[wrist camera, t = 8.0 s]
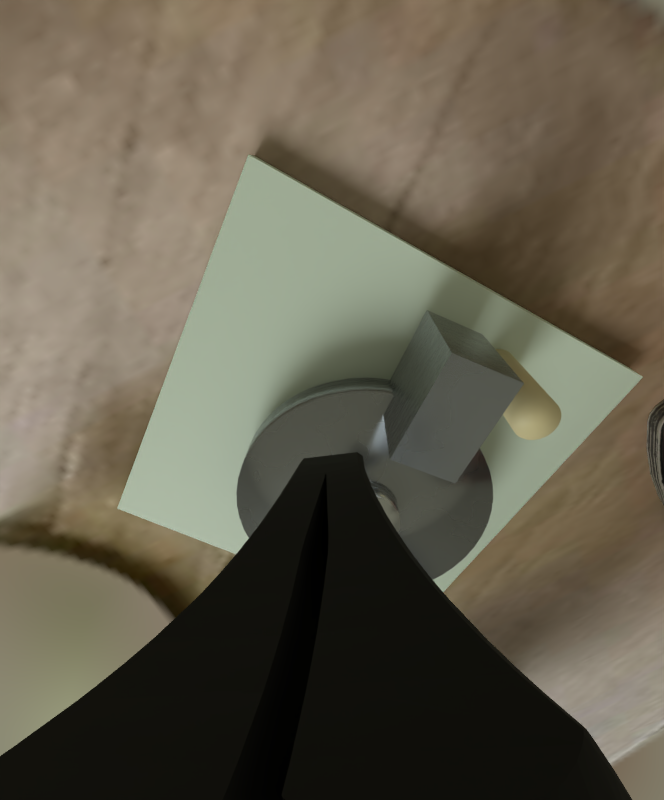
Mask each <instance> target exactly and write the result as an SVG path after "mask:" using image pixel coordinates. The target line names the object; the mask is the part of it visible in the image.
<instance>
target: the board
mask: <svg viewBox="0 0 664 800" xmlns="http://www.w3.org/2000/svg"><path fill="white" fill-rule="evenodd" d="M427 310H428V311H430V312H433V313H435V314H437V315H439V316H442V317H444V318H446V319H449V320H451V321H453V322H456V323H458V324H460V325H462V326H465V327H467V328H469V329H472V330H474V331H476V332H479V333H481V334H483V335H484V337H485V338H486V339H487V340H488V341H489V343H490V344H491V345H492V346H493V347H494V348H495V350H496V351H497V352H498V353H499V354H500V356H501V357H502V358H503V359H504V360H505V361H506V363H507V364H508V365H509V366H510V367H511V369H512V370H513V371H514V372H515V373H516V374H517V376H518V377H519V378H520V379H521V380H522V381H523V383H524V384H523V386H522V387H521V389H520V390H519V392H518V393H517V395H516V396H515V397H514V399H513V400H512V402H511V403H510V405H509V406H508V408H507V409H506V411H505V412H504V413H503V415H502V416H501V418H500V419H499V421H498V422H497V424H496V425H495V427H494V428H493V429H492V431H491V432H490V434H489V435H488V437H487V438H486V440H485V441H484V443H483V444H482V445H481V447H480V449H481V451H482V453H483V455H484V457H485V460H486V462H487V465H488V467H489V470H490V474H491V479H492V483H493V503H492V511H491V514H490V518H489V521H488V524H487V526H486V528H485V530H484V532H483V535H482V536H481V538H480V539H479V541H478V542H477V544H476V545H475V547H474V548H473V549H472V550H471V551H470V552H469V554H468V555H467V556H466V557H465V558H464V559H463V560H461V561H460V562H459V563H458V564H457V565H456V566H455V567H453V568H452V569H450V570H449V571H447V572H446V573H444V574H443V575H441V576H439V577H437V578H435V579H434V580H433V581H434V582H435V583H436V585H437V586H438V587H439V588H440V589H441V590H442V592H444V591H445V590H446V589H447V587H448V586H449V585H450V584H451V583H452V582H453V581H454V580H455V579H456V578H457V577H458V576H459V575H460V573H461V572H462V571H463V570H464V569H465V568H466V567H467V566H468V565H469V564H470V563H471V562H472V561H473V559H474V558H475V557H476V556H477V555H478V554H479V553H480V552H481V551H482V550H483V549H484V548H485V547H486V545H487V544H488V543H489V542H490V541H491V540H492V539H493V538H494V537H495V536H496V535H497V534H498V533H499V531H500V530H501V529H502V528H503V527H504V526H505V525H506V524H507V523H508V522H509V521H510V520H511V519H512V517H513V516H514V515H515V514H516V513H517V512H518V511H519V510H520V509H521V508H522V507H523V506H524V505H525V503H526V502H527V501H528V500H529V499H530V498H531V497H532V496H533V495H534V494H535V493H536V492H537V491H538V490H539V488H540V487H541V486H542V485H543V484H544V483H545V482H546V481H547V480H548V479H549V478H550V477H551V476H552V474H553V473H554V472H555V471H556V470H557V469H558V468H559V467H560V466H561V465H562V464H563V463H564V462H565V460H566V459H567V458H568V457H569V456H570V455H571V454H572V453H573V452H574V451H575V450H576V449H577V448H578V446H579V445H580V444H581V443H582V442H583V441H584V440H585V439H586V438H587V437H588V436H589V435H590V434H591V432H592V431H593V430H594V429H595V428H596V427H597V426H598V425H599V424H600V423H601V422H602V421H603V420H604V418H605V417H606V416H607V415H608V414H609V413H610V412H611V411H612V410H613V409H614V408H615V407H616V406H617V404H618V403H619V402H620V401H621V400H622V399H623V398H624V397H625V396H626V395H627V394H628V393H629V392H630V391H631V389H632V388H633V387H634V386H635V385H636V384H637V383H638V382H639V381H640V380H641V379H642V378H643V377H642V376H641V375H639V374H638V373H636V372H635V371H633V370H632V369H631V368H629V367H627V366H625V365H624V364H622V363H620V362H618V361H617V360H615V359H613V358H611V357H610V356H608V355H606V354H604V353H602V352H601V351H599V350H597V349H595V348H594V347H592V346H590V345H588V344H587V343H585V342H583V341H581V340H579V339H578V338H576V337H574V336H572V335H571V334H569V333H567V332H565V331H564V330H562V329H560V328H558V327H556V326H555V325H553V324H551V323H549V322H548V321H546V320H544V319H542V318H541V317H539V316H537V315H535V314H533V313H532V312H530V311H528V310H526V309H525V308H523V307H521V306H519V305H518V304H516V303H514V302H512V301H510V300H509V299H507V298H505V297H503V296H502V295H500V294H498V293H496V292H495V291H493V290H491V289H489V288H487V287H486V286H484V285H482V284H480V283H479V282H477V281H475V280H473V279H472V278H470V277H468V276H466V275H464V274H463V273H461V272H459V271H457V270H456V269H454V268H452V267H450V266H449V265H447V264H445V263H443V262H441V261H440V260H438V259H436V258H434V257H433V256H431V255H429V254H427V253H425V252H424V251H422V250H420V249H418V248H417V247H415V246H413V245H411V244H410V243H408V242H406V241H404V240H402V239H401V238H399V237H397V236H395V235H394V234H392V233H390V232H388V231H387V230H385V229H383V228H381V227H379V226H378V225H376V224H374V223H372V222H371V221H369V220H367V219H365V218H364V217H362V216H360V215H358V214H356V213H355V212H353V211H351V210H349V209H348V208H346V207H344V206H342V205H341V204H339V203H337V202H335V201H333V200H332V199H330V198H328V197H326V196H325V195H323V194H321V193H319V192H318V191H316V190H314V189H312V188H310V187H309V186H307V185H305V184H303V183H302V182H300V181H298V180H296V179H295V178H293V177H291V176H289V175H287V174H286V173H284V172H282V171H280V170H279V169H277V168H275V167H273V166H272V165H270V164H268V163H266V162H264V161H263V160H261V159H259V158H257V157H256V156H254V155H248V157H247V160H246V163H245V165H244V168H243V171H242V173H241V176H240V179H239V182H238V184H237V187H236V190H235V192H234V195H233V198H232V200H231V203H230V206H229V209H228V211H227V214H226V217H225V219H224V222H223V225H222V227H221V230H220V233H219V236H218V238H217V241H216V244H215V246H214V249H213V252H212V254H211V257H210V260H209V263H208V265H207V268H206V271H205V273H204V276H203V279H202V281H201V284H200V287H199V290H198V292H197V295H196V298H195V300H194V303H193V306H192V308H191V311H190V314H189V316H188V319H187V322H186V325H185V327H184V330H183V333H182V335H181V338H180V341H179V343H178V346H177V349H176V352H175V354H174V357H173V360H172V362H171V365H170V368H169V370H168V373H167V376H166V379H165V381H164V384H163V387H162V389H161V392H160V395H159V397H158V400H157V403H156V406H155V408H154V411H153V414H152V416H151V419H150V422H149V424H148V427H147V430H146V433H145V435H144V438H143V441H142V443H141V446H140V449H139V451H138V454H137V457H136V459H135V462H134V465H133V468H132V470H131V473H130V476H129V478H128V481H127V484H126V486H125V489H124V492H123V495H122V497H121V500H120V503H119V505H118V508H117V509H120V510H122V511H125V512H128V513H130V514H133V515H135V516H138V517H141V518H143V519H146V520H148V521H151V522H154V523H156V524H159V525H161V526H164V527H167V528H169V529H172V530H174V531H177V532H180V533H182V534H185V535H187V536H190V537H193V538H195V539H198V540H200V541H203V542H206V543H208V544H211V545H213V546H216V547H219V548H221V549H224V550H227V551H229V552H232V553H234V554H237V553H238V551H239V550H240V549H241V547H242V546H243V545H244V544H245V542H246V541H247V540H248V539H249V538H248V536H247V534H246V532H245V531H244V528H243V526H242V523H241V520H240V518H239V513H238V508H237V495H236V491H237V483H238V477H239V474H240V470H241V467H242V464H243V461H244V459H245V456H246V453H247V450H248V448H249V445H250V443H251V441H252V439H253V437H254V435H255V433H256V432H257V430H258V429H259V427H260V426H261V424H262V423H263V421H264V420H265V419H266V418H267V417H268V416H269V415H270V414H271V413H272V412H273V411H274V410H275V409H276V408H278V407H279V406H280V405H281V404H283V403H284V402H285V401H287V400H288V399H290V398H292V397H293V396H295V395H297V394H298V393H300V392H302V391H305V390H307V389H309V388H312V387H314V386H317V385H320V384H324V383H327V382H330V381H335V380H342V379H348V378H366V377H367V378H380V379H388V380H390V379H391V377H392V375H393V373H394V371H395V369H396V367H397V365H398V364H399V362H400V360H401V358H402V356H403V354H404V352H405V350H406V348H407V347H408V345H409V343H410V341H411V339H412V337H413V335H414V333H415V331H416V329H417V328H418V326H419V324H420V322H421V320H422V318H423V316H424V314H425V312H426V311H427Z"/></svg>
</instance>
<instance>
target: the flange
mask: <svg viewBox="0 0 664 800" xmlns="http://www.w3.org/2000/svg"><path fill="white" fill-rule="evenodd" d="M523 384H524V383H523V381H522V380H521V379H520V378H519V377H518V376H517V374H516V373H515V372H514V371H513V370H512V369H511V367H510V366H509V365H508V364H507V363H506V361H505V360H504V359H503V358H502V357H501V356H500V354H499V353H498V352H497V351H496V350H495V348H494V347H493V346H492V345H491V344H490V343H489V341H488V340H487V339H486V338H485V337H484V335H483V334H481V333H479V332H476V331H474V330H472V329H469V328H467V327H465V326H462V325H460V324H458V323H456V322H453V321H451V320H449V319H446V318H444V317H442V316H439V315H437V314H435V313H433V312H430V311H428V310H427V311H426V312H425V314H424V316H423V318H422V320H421V322H420V324H419V326H418V328H417V329H416V331H415V333H414V335H413V337H412V339H411V341H410V343H409V345H408V347H407V348H406V350H405V352H404V354H403V356H402V358H401V360H400V362H399V364H398V365H397V367H396V369H395V371H394V373H393V375H392V377H391V379H390V380H388V379H380V378H367V377H366V378H348V379H342V380H335V381H330V382H327V383H324V384H320V385H317V386H314V387H312V388H309V389H307V390H305V391H302V392H300V393H298V394H297V395H295V396H293V397H292V398H290V399H288V400H287V401H285V402H284V403H283V404H281V405H280V406H279V407H278V408H276V409H275V410H274V411H273V412H272V413H271V414H270V415H269V416H268V417H267V418H266V419H265V420H264V421H263V423H262V424H261V426H260V427H259V429H258V430H257V432H256V433H255V435H254V437H253V439H252V441H251V443H250V445H249V448H248V450H247V453H246V456H245V459H244V461H243V464H242V467H241V470H240V474H239V477H238V483H237V491H236V495H237V508H238V513H239V518H240V520H241V523H242V526H243V528H244V531H245V532H246V534H247V536H248V538H249V537H250V536H251V535H252V533H253V532H254V531H255V530H256V528H257V527H258V526H259V524H260V523H261V521H262V520H263V519H264V517H265V516H266V514H267V513H268V511H269V510H270V509H271V507H272V506H273V504H274V503H275V501H276V500H277V498H278V497H279V495H280V494H281V492H282V491H283V489H284V488H285V486H286V485H287V483H288V481H289V480H290V478H291V477H292V475H293V473H294V472H295V470H296V469H297V467H298V465H299V464H300V462H301V461H302V460H303V459H304V458H311V457H319V456H328V455H336V454H345V453H353V452H358V453H359V454H361V455H362V456H363V460H364V466H365V470H366V473H367V476H368V479H369V481H370V483H371V486H372V488H373V490H374V492H375V494H376V496H377V498H378V500H379V502H380V503H381V505H382V507H383V509H384V511H385V513H386V515H387V516H388V518H389V519H390V521H391V523H392V524H393V526H394V528H395V529H396V531H397V532H398V534H399V535H400V537H401V538H402V540H403V541H404V543H405V544H406V546H407V547H408V548H409V550H410V551H411V553H412V554H413V555H414V557H415V558H416V559H417V561H418V562H419V563H420V565H421V566H422V567H423V568H424V570H425V571H426V572H427V574H428V575H429V576H430V577H431V579H432V580H434V579H435V578H437V577H439V576H441V575H443V574H444V573H446V572H447V571H449V570H450V569H452V568H453V567H455V566H456V565H457V564H458V563H459V562H460V561H461V560H463V559H464V558H465V557H466V556H467V555H468V554H469V552H470V551H471V550H472V549H473V548H474V547H475V545H476V544H477V542H478V541H479V539H480V538H481V536H482V535H483V532H484V530H485V528H486V526H487V524H488V521H489V518H490V514H491V511H492V503H493V483H492V479H491V474H490V470H489V467H488V465H487V462H486V460H485V457H484V455H483V453H482V451H481V449H480V447H481V445H482V444H483V443H484V441H485V440H486V438H487V437H488V435H489V434H490V432H491V431H492V429H493V428H494V427H495V425H496V424H497V422H498V421H499V419H500V418H501V416H502V415H503V413H504V412H505V411H506V409H507V408H508V406H509V405H510V403H511V402H512V400H513V399H514V397H515V396H516V395H517V393H518V392H519V390H520V389H521V387H522V386H523Z"/></svg>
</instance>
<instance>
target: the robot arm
mask: <svg viewBox="0 0 664 800" xmlns="http://www.w3.org/2000/svg"><path fill="white" fill-rule="evenodd" d="M0 800H632V799H631V797H630V795H629V794H628V792H627V790H626V789H625V787H624V785H623V784H622V782H621V781H620V779H619V777H618V776H617V774H616V773H615V771H614V769H613V768H612V766H611V765H610V763H609V762H608V760H607V759H606V757H605V756H604V754H603V753H602V751H601V750H600V748H599V747H598V745H597V744H596V742H595V741H594V739H593V738H592V737H591V735H590V734H589V732H588V731H587V730H586V729H585V728H584V727H583V726H582V725H581V724H580V723H579V722H578V721H576V720H575V719H574V718H573V717H572V716H571V715H569V714H568V713H567V712H566V711H565V710H564V709H562V708H561V707H560V706H559V705H558V704H556V703H555V702H554V701H553V700H552V699H551V698H549V697H548V696H547V695H546V694H545V693H544V692H543V691H542V690H541V689H539V688H538V687H537V686H536V685H535V684H534V683H533V682H532V681H530V680H529V679H528V678H527V677H526V676H525V675H524V674H523V673H522V672H520V671H519V670H518V669H517V668H516V667H515V666H514V665H513V664H512V663H511V662H510V661H509V660H508V659H507V658H506V657H505V656H504V655H503V654H502V653H501V652H499V651H498V650H497V649H496V648H495V647H494V646H493V645H492V644H491V643H490V642H489V641H488V640H487V639H486V638H485V637H484V636H483V635H482V634H481V633H480V632H479V630H478V629H477V628H476V627H475V626H474V625H473V624H472V623H471V622H470V621H469V620H468V619H467V618H466V617H465V616H464V615H463V614H462V613H461V611H460V610H459V609H458V608H457V607H456V606H455V605H454V604H453V603H452V602H451V601H450V600H449V599H448V598H447V596H446V595H445V594H444V593H443V592H442V590H441V589H440V588H439V587H438V586H437V585H436V583H435V582H434V581H433V580H432V579H431V577H430V576H429V575H428V574H427V572H426V571H425V570H424V568H423V567H422V566H421V565H420V563H419V562H418V561H417V559H416V558H415V557H414V555H413V554H412V553H411V551H410V550H409V548H408V547H407V546H406V544H405V543H404V541H403V540H402V538H401V537H400V535H399V534H398V532H397V531H396V529H395V528H394V526H393V524H392V523H391V521H390V519H389V518H388V516H387V515H386V513H385V511H384V509H383V507H382V505H381V503H380V502H379V500H378V498H377V496H376V494H375V492H374V490H373V488H372V486H371V483H370V481H369V479H368V476H367V473H366V470H365V466H364V460H363V456H362V455H361V454H359V453H358V452H353V453H345V454H336V455H328V456H319V457H311V458H304V459H303V460H302V461H301V462H300V464H299V465H298V467H297V469H296V470H295V472H294V473H293V475H292V477H291V478H290V480H289V481H288V483H287V485H286V486H285V488H284V489H283V491H282V492H281V494H280V495H279V497H278V498H277V500H276V501H275V503H274V504H273V506H272V507H271V509H270V510H269V511H268V513H267V514H266V516H265V517H264V519H263V520H262V521H261V523H260V524H259V526H258V527H257V528H256V530H255V531H254V532H253V533H252V535H251V536H250V537H249V539H248V540H247V541H246V542H245V544H244V545H243V546H242V547H241V549H240V550H239V551H238V553H237V554H236V555H235V556H234V557H233V559H232V560H231V561H230V562H229V563H228V565H227V566H226V567H225V568H224V569H223V570H222V571H221V573H220V574H219V575H218V576H217V577H216V578H215V579H214V580H213V581H212V582H211V584H210V585H209V586H208V587H207V588H206V589H205V590H204V591H203V592H202V593H201V594H200V595H199V596H198V597H197V598H196V599H195V600H194V601H193V602H192V603H191V604H190V605H189V606H188V607H187V608H186V609H185V610H184V611H182V612H181V613H180V614H179V615H178V616H177V617H176V618H175V619H174V620H173V621H172V622H171V623H170V624H169V625H168V626H166V627H165V628H164V629H163V630H162V631H161V632H160V633H159V634H158V635H157V636H156V637H155V638H154V639H153V640H151V641H150V642H149V643H148V644H147V645H146V646H144V647H143V648H142V649H141V650H140V651H139V652H137V653H136V654H135V655H134V656H133V657H131V658H130V659H129V660H128V661H127V662H126V663H125V664H123V665H122V666H121V667H119V668H118V669H117V670H116V671H114V672H113V673H112V674H111V675H109V676H108V677H107V678H106V679H104V680H103V681H102V682H101V683H99V684H98V685H97V686H96V687H95V688H93V689H92V690H91V691H89V692H88V693H87V694H85V695H84V696H83V697H82V698H80V699H79V700H78V701H76V702H75V703H74V704H72V705H71V706H69V707H68V708H67V709H65V710H64V711H62V712H61V713H60V714H58V715H57V716H56V717H54V718H53V719H51V720H50V721H49V722H47V723H46V724H45V725H43V726H42V727H40V728H39V729H38V730H36V731H35V732H33V733H32V734H31V735H29V736H28V737H27V738H25V739H24V740H22V741H21V742H20V743H18V744H17V745H16V746H14V747H13V748H11V749H10V750H8V751H7V752H5V753H4V754H3V755H1V756H0Z"/></svg>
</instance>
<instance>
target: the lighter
mask: <svg viewBox="0 0 664 800" xmlns="http://www.w3.org/2000/svg"><path fill="white" fill-rule="evenodd" d="M647 454H648V462H649V469H650V474H651V477H652V480H653V483H654V486H655V488H656V491H657V494H658V496H659V498H660V500H661V501H662V503H663V505H664V400H663V401H662V402H660V403H659V404H658V405H657V406H655V407H654V409H653V410H652V412H651V413H650V414H649V418H648V421H647Z"/></svg>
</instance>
